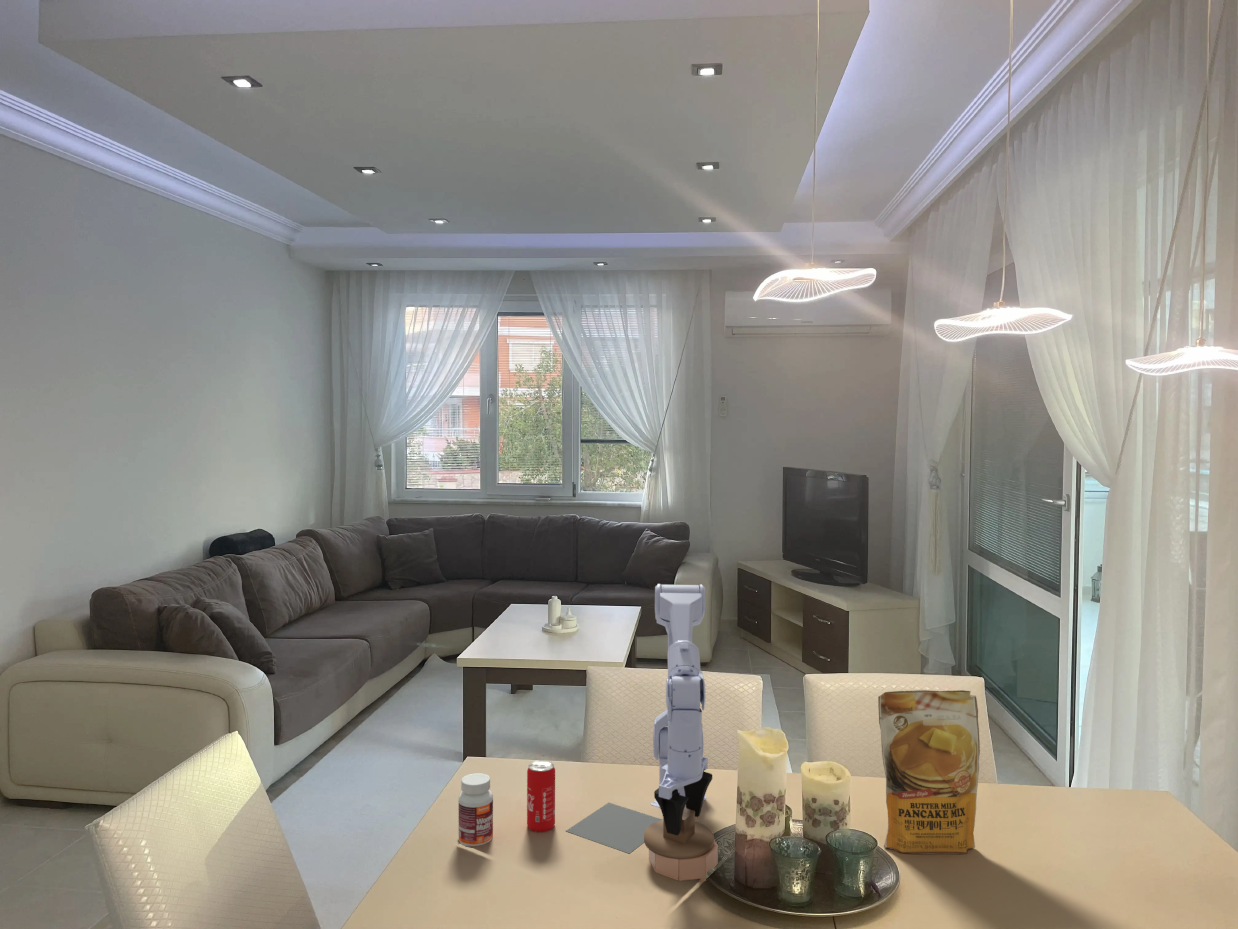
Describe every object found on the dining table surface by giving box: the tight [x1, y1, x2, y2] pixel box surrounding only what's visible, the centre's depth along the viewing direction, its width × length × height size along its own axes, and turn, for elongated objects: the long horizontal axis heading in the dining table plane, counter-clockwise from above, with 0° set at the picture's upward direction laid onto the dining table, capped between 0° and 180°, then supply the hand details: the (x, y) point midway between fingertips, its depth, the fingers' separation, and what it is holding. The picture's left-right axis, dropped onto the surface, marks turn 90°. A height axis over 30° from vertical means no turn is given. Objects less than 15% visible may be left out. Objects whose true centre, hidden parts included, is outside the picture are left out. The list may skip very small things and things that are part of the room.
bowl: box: [648, 839, 719, 883], centre depth 141 cm, size 11×11×4 cm
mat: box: [565, 802, 663, 855], centre depth 154 cm, size 14×14×1 cm
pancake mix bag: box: [877, 689, 981, 855], centre depth 148 cm, size 7×19×28 cm, turn 91°
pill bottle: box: [458, 772, 494, 849], centre depth 149 cm, size 6×6×11 cm
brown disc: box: [643, 808, 715, 859], centre depth 142 cm, size 12×12×5 cm
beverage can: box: [526, 760, 556, 833], centre depth 153 cm, size 5×5×12 cm
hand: (683, 824), depth 141 cm, fingers open, 7 cm apart
